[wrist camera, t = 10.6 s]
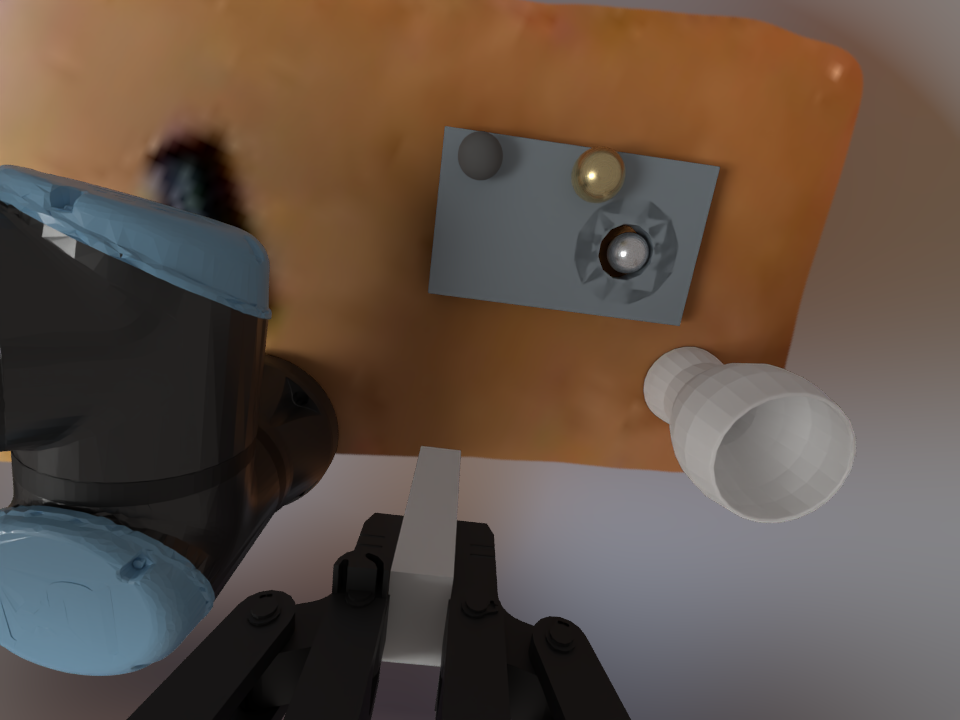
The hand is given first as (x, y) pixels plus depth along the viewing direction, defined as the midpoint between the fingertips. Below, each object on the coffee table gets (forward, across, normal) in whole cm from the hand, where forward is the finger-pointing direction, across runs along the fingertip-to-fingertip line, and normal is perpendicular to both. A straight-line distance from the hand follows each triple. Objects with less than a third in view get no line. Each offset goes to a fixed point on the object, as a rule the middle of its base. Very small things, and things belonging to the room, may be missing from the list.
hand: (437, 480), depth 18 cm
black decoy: (+22, 0, +14) cm, 27 cm away
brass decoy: (+22, +9, +14) cm, 28 cm away
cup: (+27, +22, -2) cm, 35 cm away
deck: (+26, +8, +10) cm, 29 cm away
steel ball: (+25, +13, +9) cm, 30 cm away
